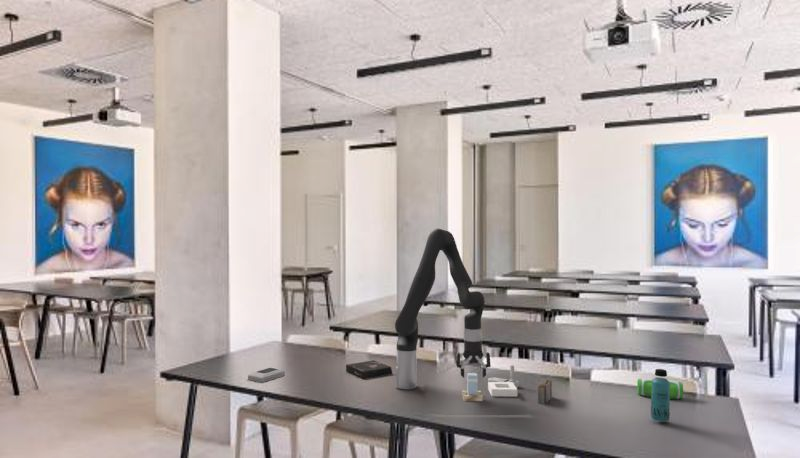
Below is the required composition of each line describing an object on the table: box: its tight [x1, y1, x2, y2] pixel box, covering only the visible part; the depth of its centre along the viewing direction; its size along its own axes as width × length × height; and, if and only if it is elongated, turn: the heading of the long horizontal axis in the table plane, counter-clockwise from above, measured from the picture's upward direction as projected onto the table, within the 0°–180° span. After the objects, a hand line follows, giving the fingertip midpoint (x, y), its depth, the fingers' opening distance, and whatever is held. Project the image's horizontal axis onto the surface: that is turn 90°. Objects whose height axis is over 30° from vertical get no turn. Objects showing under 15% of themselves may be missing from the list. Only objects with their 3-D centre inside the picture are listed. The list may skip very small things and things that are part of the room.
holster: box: [461, 390, 484, 402], centre depth 238 cm, size 8×8×3 cm
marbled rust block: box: [537, 379, 553, 405], centre depth 238 cm, size 11×3×10 cm, turn 150°
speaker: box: [636, 377, 684, 400], centre depth 243 cm, size 18×7×8 cm, turn 71°
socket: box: [487, 381, 518, 398], centre depth 245 cm, size 11×11×4 cm
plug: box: [466, 372, 479, 395], centre depth 238 cm, size 4×4×10 cm
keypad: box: [247, 366, 286, 384], centre depth 272 cm, size 10×4×15 cm
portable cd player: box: [345, 359, 393, 380], centre depth 282 cm, size 16×17×4 cm
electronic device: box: [487, 365, 520, 389], centre depth 260 cm, size 5×10×15 cm
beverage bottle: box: [650, 368, 671, 422], centre depth 211 cm, size 6×7×20 cm
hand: (473, 377), depth 238 cm, fingers open, 8 cm apart
